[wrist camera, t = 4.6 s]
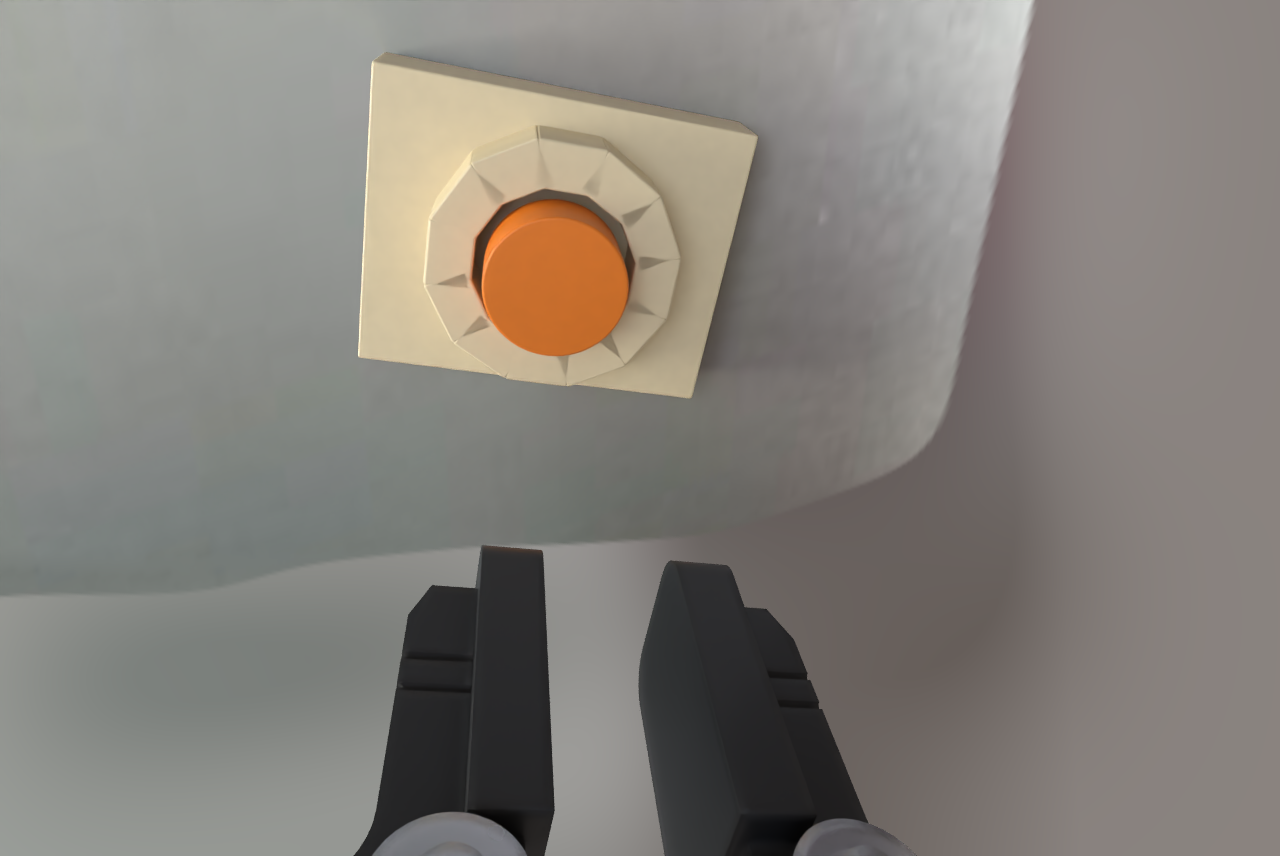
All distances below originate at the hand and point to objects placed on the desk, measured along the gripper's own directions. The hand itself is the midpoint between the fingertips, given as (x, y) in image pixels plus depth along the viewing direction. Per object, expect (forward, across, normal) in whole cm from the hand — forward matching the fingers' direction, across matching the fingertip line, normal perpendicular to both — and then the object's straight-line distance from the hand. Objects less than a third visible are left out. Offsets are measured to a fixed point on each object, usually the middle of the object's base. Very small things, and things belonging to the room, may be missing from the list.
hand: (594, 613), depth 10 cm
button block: (+17, 0, 0) cm, 17 cm away
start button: (+13, 0, 0) cm, 13 cm away
